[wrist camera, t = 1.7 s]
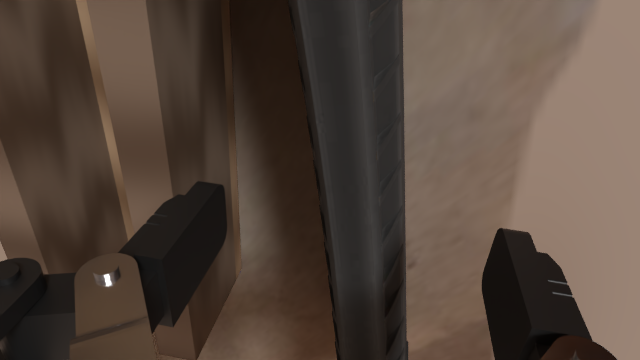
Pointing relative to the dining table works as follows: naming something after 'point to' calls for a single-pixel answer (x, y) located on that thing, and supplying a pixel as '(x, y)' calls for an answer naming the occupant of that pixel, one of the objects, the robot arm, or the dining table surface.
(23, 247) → the slot block
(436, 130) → the dining table surface
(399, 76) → the magazine
